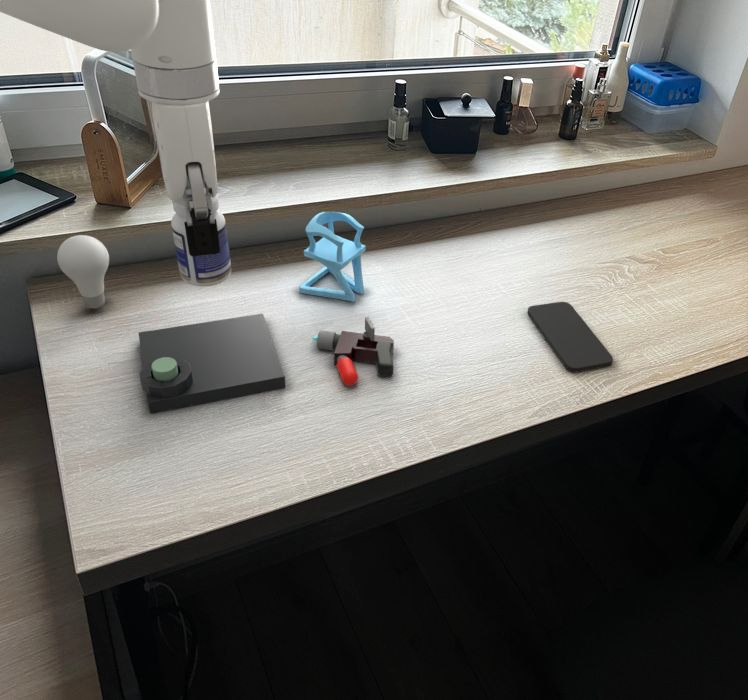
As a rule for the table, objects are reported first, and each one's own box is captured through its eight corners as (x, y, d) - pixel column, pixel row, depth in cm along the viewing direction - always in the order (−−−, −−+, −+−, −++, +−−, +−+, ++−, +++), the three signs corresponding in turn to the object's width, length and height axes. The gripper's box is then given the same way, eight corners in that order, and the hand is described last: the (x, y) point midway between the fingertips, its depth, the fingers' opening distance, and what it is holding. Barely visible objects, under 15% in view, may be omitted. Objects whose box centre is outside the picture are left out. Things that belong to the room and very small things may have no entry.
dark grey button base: (147, 414, 86) (142, 392, 84) (138, 344, 95) (133, 322, 93) (285, 387, 92) (284, 366, 90) (263, 324, 101) (261, 303, 99)
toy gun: (314, 337, 100) (313, 309, 97) (400, 348, 100) (401, 320, 97) (296, 383, 93) (294, 354, 90) (388, 394, 93) (390, 365, 90)
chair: (344, 309, 106) (344, 238, 99) (298, 291, 108) (294, 220, 101) (372, 285, 112) (374, 216, 104) (327, 269, 114) (326, 200, 107)
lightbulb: (113, 290, 104) (96, 222, 97) (125, 312, 100) (109, 243, 94) (67, 301, 101) (46, 232, 94) (78, 324, 97) (58, 254, 90)
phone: (570, 369, 99) (524, 306, 109) (568, 374, 99) (524, 311, 110) (616, 361, 101) (568, 300, 112) (615, 365, 102) (567, 304, 112)
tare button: (154, 383, 85) (152, 373, 84) (152, 369, 87) (150, 359, 86) (179, 379, 86) (177, 369, 85) (177, 365, 88) (175, 355, 87)
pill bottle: (239, 265, 86) (230, 189, 80) (221, 291, 82) (210, 213, 76) (192, 258, 87) (180, 182, 80) (171, 284, 82) (157, 205, 76)
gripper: (129, 49, 75) (158, 207, 86) (142, 111, 63) (173, 284, 74) (205, 48, 78) (223, 201, 89) (231, 107, 66) (248, 275, 77)
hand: (200, 237), depth 81 cm, fingers closed on pill bottle, 5 cm apart
